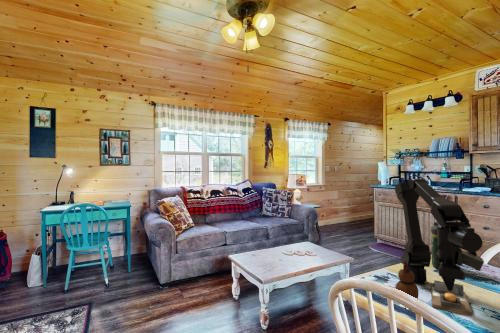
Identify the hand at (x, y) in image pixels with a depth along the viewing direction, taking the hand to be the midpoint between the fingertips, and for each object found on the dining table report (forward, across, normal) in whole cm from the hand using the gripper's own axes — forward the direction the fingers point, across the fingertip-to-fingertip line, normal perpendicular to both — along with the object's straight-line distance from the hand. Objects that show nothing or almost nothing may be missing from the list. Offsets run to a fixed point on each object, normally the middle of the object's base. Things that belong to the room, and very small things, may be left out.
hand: (449, 290), depth 87 cm
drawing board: (+5, +5, 0) cm, 7 cm away
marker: (+4, +9, 0) cm, 10 cm away
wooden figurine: (+6, -4, +12) cm, 14 cm away
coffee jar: (+6, +40, 0) cm, 40 cm away
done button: (+3, 0, 0) cm, 3 cm away
